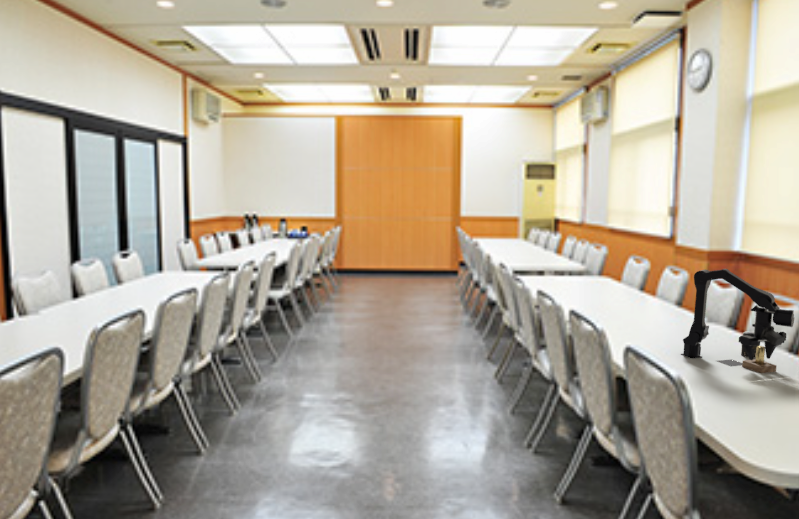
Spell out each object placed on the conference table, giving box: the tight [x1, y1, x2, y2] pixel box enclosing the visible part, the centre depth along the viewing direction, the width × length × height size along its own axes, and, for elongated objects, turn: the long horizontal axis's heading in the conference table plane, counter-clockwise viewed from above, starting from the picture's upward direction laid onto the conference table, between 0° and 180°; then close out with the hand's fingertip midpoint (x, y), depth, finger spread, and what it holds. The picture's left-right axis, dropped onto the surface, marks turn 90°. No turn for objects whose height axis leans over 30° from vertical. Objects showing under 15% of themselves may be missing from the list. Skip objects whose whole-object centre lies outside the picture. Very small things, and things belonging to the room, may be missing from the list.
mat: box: [716, 359, 743, 367], centre depth 247 cm, size 9×8×1 cm
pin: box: [754, 345, 766, 365], centre depth 239 cm, size 3×3×10 cm
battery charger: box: [740, 331, 761, 359], centre depth 257 cm, size 7×4×11 cm, turn 68°
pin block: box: [741, 358, 777, 374], centre depth 239 cm, size 8×9×3 cm
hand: (759, 359), depth 239 cm, fingers open, 9 cm apart
